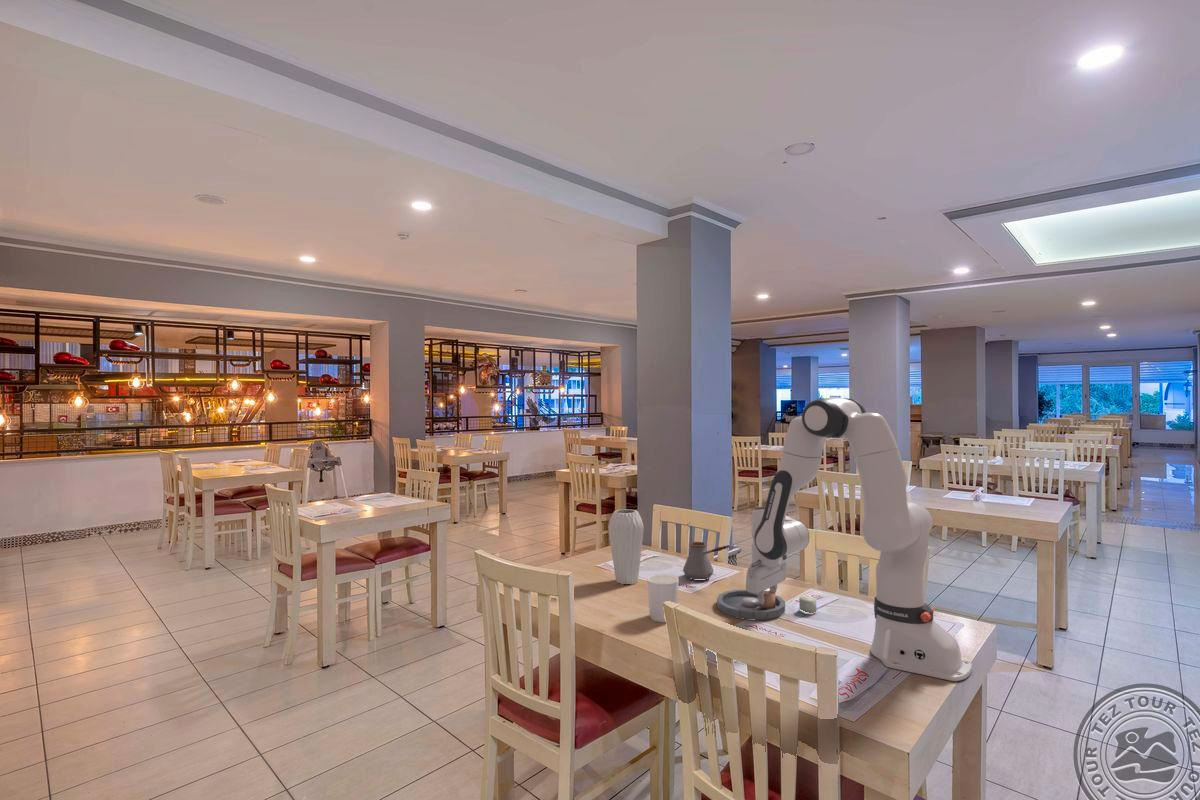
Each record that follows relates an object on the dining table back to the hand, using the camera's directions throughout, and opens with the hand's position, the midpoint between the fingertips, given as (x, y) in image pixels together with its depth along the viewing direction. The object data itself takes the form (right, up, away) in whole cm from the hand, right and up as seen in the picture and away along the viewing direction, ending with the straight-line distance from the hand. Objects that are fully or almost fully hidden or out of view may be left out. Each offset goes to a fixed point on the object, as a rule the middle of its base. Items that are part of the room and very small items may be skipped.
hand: (767, 600), depth 178 cm
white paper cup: (-33, -4, -3) cm, 33 cm away
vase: (-43, -5, +33) cm, 54 cm away
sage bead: (+13, -3, 0) cm, 13 cm away
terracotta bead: (0, -2, 0) cm, 2 cm away
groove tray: (-4, -4, +4) cm, 7 cm away
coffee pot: (-12, -4, +33) cm, 35 cm away
